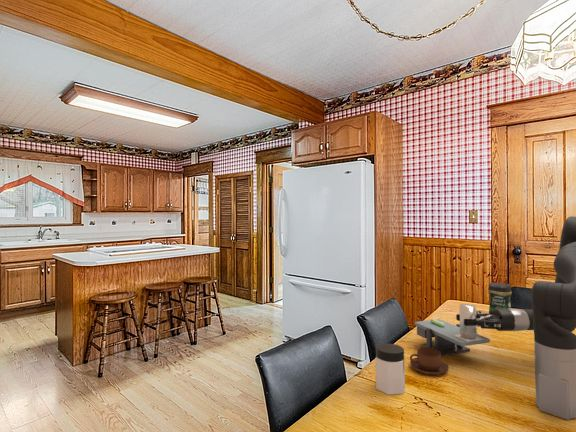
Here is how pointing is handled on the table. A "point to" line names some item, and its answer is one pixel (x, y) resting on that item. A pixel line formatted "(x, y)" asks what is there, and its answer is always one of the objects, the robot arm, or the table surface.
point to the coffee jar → (499, 296)
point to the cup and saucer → (428, 361)
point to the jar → (390, 369)
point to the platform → (447, 332)
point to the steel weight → (467, 313)
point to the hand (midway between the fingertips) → (460, 319)
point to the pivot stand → (443, 344)
